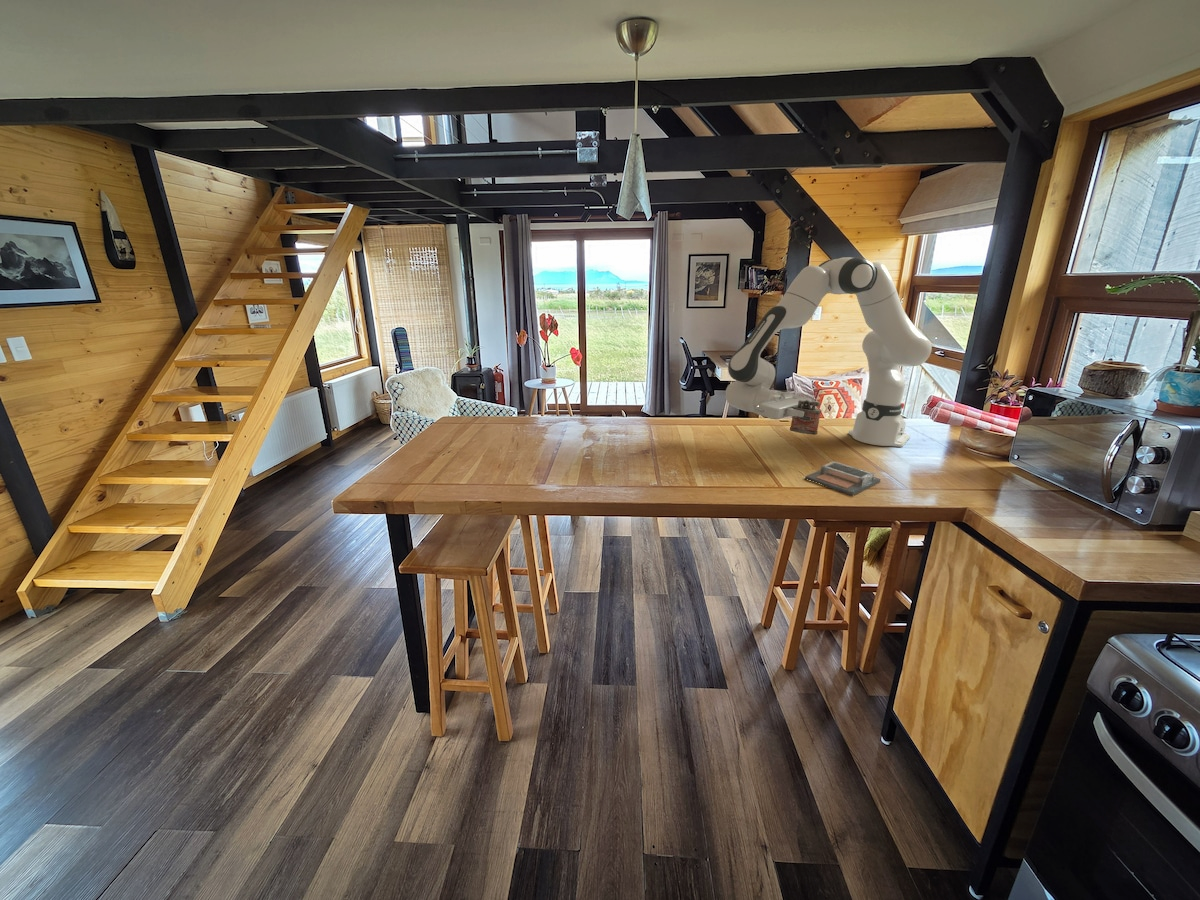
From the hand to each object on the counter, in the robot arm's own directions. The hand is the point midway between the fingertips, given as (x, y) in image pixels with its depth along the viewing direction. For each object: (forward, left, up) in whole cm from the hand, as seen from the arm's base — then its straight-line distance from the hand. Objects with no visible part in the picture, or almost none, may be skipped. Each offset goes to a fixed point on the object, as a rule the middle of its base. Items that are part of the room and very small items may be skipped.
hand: (809, 412), depth 146 cm
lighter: (0, -1, -6) cm, 7 cm away
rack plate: (+2, +14, -17) cm, 22 cm away
